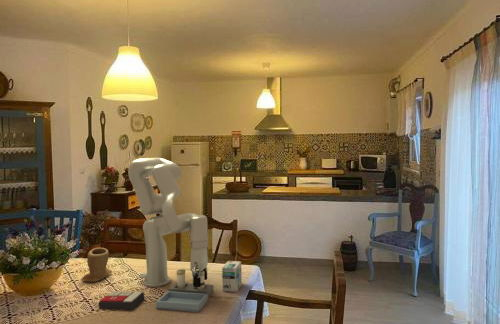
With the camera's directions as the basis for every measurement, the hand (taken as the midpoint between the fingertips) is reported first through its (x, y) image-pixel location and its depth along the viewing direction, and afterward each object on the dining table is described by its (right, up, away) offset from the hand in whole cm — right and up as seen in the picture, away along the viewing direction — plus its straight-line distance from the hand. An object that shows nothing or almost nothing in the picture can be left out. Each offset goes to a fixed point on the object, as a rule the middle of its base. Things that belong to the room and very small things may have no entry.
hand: (200, 282), depth 172 cm
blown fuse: (0, -5, 0) cm, 5 cm away
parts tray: (-6, -6, -11) cm, 13 cm away
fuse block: (-4, -5, +1) cm, 7 cm away
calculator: (-32, -7, -8) cm, 33 cm away
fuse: (-9, -5, +2) cm, 10 cm away
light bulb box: (+14, -5, +7) cm, 16 cm away
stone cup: (-54, -5, +24) cm, 59 cm away
